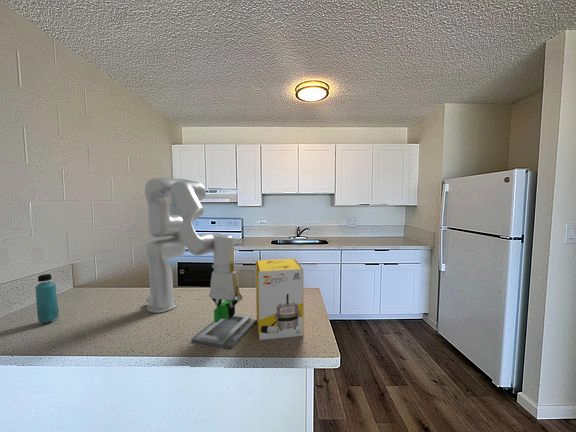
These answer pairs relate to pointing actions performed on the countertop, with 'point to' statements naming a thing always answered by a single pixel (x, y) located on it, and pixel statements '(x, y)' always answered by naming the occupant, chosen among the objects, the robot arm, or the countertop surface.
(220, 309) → the pipe clamp
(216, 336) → the groove block
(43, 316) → the beverage bottle
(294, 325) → the packaging box
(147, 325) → the countertop surface
